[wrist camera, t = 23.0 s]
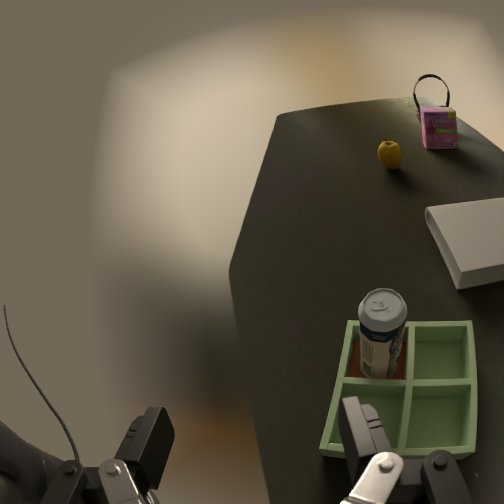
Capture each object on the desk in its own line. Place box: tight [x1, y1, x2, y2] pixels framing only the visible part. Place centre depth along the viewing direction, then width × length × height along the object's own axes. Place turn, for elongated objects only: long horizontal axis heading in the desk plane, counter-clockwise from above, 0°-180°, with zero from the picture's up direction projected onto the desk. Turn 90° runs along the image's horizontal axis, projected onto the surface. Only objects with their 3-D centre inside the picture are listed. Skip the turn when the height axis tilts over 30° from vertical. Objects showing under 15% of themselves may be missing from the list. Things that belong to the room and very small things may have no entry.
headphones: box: [413, 74, 450, 125], centre depth 75 cm, size 9×15×20 cm, turn 86°
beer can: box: [358, 288, 407, 379], centre depth 28 cm, size 5×5×12 cm
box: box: [420, 107, 457, 149], centre depth 67 cm, size 10×6×12 cm, turn 71°
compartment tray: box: [319, 320, 477, 460], centre depth 27 cm, size 16×16×4 cm
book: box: [425, 198, 504, 290], centre depth 38 cm, size 18×4×24 cm
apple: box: [378, 138, 402, 170], centre depth 66 cm, size 6×6×8 cm
